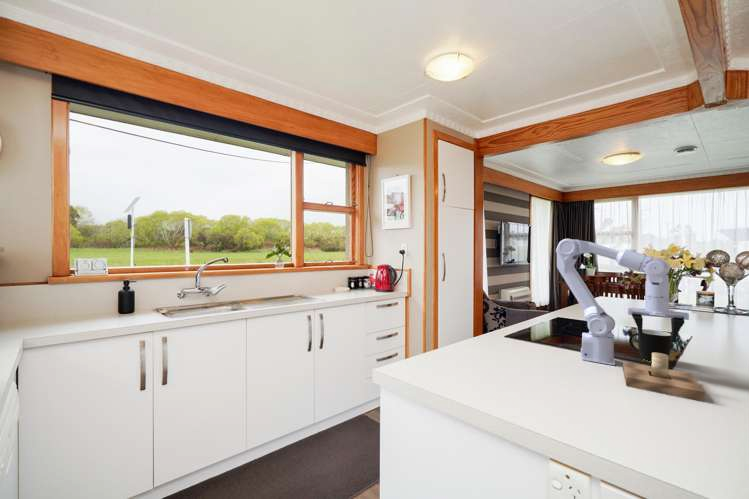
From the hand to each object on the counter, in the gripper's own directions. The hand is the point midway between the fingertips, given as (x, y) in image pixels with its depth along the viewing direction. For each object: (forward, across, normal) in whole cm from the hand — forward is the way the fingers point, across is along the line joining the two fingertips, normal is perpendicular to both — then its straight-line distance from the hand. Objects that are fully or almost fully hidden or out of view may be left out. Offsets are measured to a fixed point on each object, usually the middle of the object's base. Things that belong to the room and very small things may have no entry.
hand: (656, 339), depth 104 cm
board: (+10, -1, -11) cm, 15 cm away
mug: (+11, -1, +15) cm, 19 cm away
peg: (+10, -1, -11) cm, 15 cm away
